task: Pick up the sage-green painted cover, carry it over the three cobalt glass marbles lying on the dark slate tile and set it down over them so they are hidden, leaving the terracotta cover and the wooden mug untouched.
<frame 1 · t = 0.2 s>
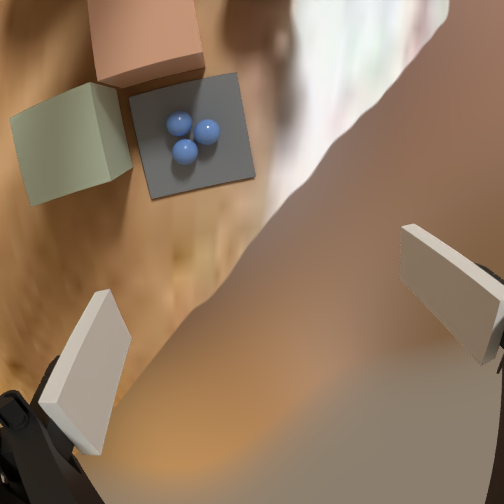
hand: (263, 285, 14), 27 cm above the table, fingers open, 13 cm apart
marble 2: (186, 150, 36), resting on slate tile
slate tile: (191, 135, 36), on the table
marble 3: (207, 131, 36), resting on slate tile
sage cover: (87, 139, 35), on the table
terracotta cover: (156, 39, 31), on the table
marble 1: (180, 123, 35), resting on slate tile
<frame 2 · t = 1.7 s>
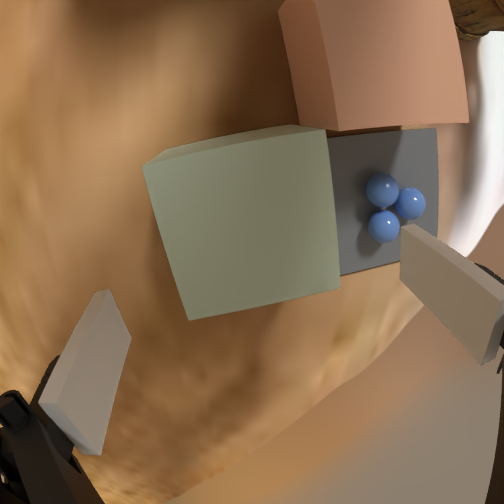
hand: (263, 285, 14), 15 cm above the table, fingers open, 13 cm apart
marble 2: (376, 221, 29), resting on slate tile
slate tile: (383, 201, 28), on the table
marble 3: (402, 199, 28), resting on slate tile
sage cover: (239, 194, 27), on the table
wooden mug: (465, 18, 21), on the table
terracotta cover: (346, 62, 23), on the table
marble 1: (374, 186, 27), resting on slate tile
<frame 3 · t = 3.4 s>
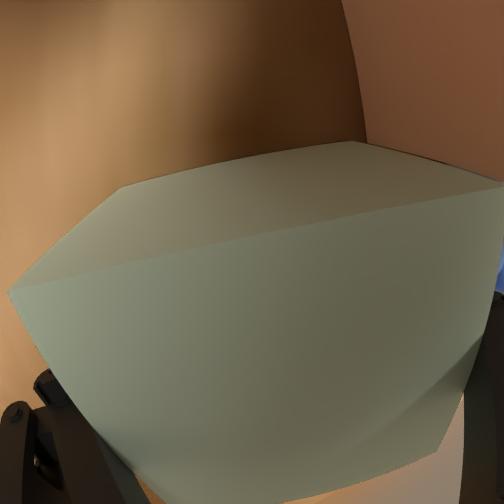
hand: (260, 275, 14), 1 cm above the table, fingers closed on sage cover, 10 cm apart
marble 3: (492, 259, 16), resting on slate tile
sage cover: (258, 267, 15), on the table, touching gripper
terracotta cover: (437, 41, 11), on the table
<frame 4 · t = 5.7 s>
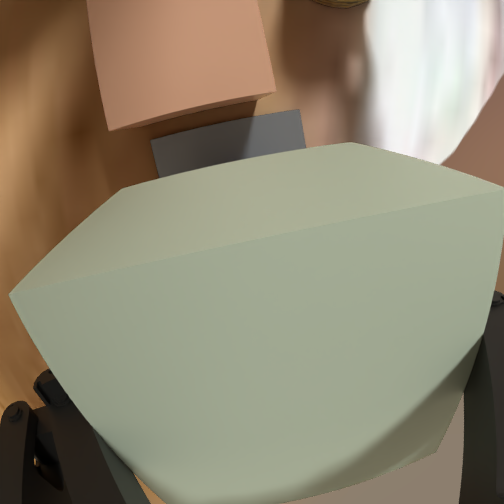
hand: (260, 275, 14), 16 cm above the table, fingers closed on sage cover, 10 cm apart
slate tile: (239, 193, 29), on the table
sage cover: (258, 268, 15), point 15 cm above the table, touching gripper
terracotta cover: (186, 57, 23), on the table
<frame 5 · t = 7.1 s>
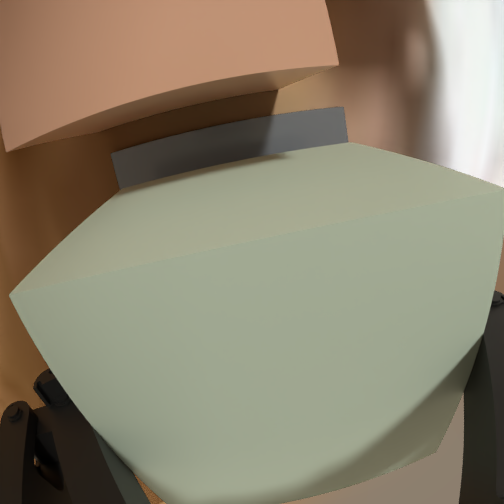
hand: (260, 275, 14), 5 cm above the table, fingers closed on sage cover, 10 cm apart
slate tile: (248, 234, 19), on the table
sage cover: (258, 269, 15), point 4 cm above the table, touching gripper
terracotta cover: (168, 23, 14), on the table
when the fingers open (2 cm above the table, at t = 8.1 s): sage cover drops 1 cm, resting on slate tile.
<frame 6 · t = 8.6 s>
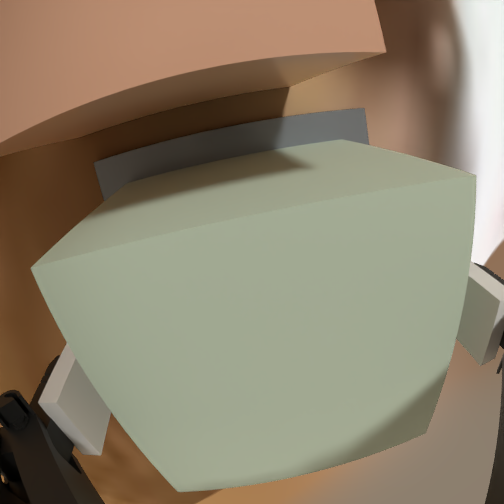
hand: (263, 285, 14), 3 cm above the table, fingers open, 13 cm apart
slate tile: (254, 255, 17), on the table
sage cover: (255, 258, 16), resting on slate tile
terracotta cover: (161, 10, 11), on the table
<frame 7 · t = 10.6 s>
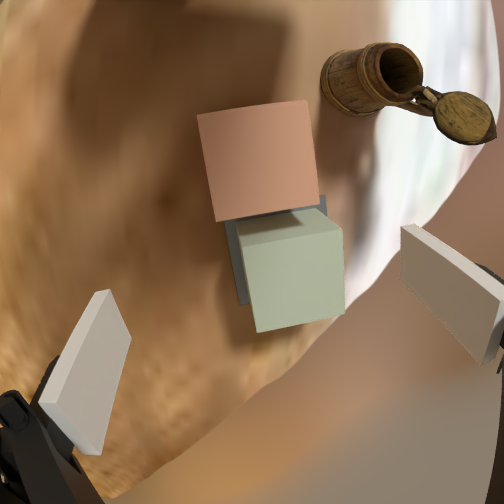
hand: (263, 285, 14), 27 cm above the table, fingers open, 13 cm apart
slate tile: (280, 251, 42), on the table
sage cover: (281, 252, 42), resting on slate tile
wooden mug: (366, 94, 36), on the table
terracotta cover: (250, 153, 37), on the table
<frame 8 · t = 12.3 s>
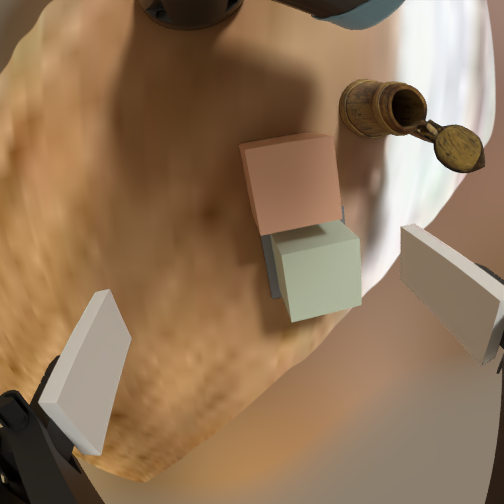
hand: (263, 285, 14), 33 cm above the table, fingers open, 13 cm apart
slate tile: (306, 253, 50), on the table
sage cover: (307, 254, 49), resting on slate tile
wooden mug: (377, 118, 43), on the table
terracotta cover: (281, 172, 45), on the table
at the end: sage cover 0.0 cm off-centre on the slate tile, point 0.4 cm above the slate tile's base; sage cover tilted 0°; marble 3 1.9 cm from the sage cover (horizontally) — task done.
